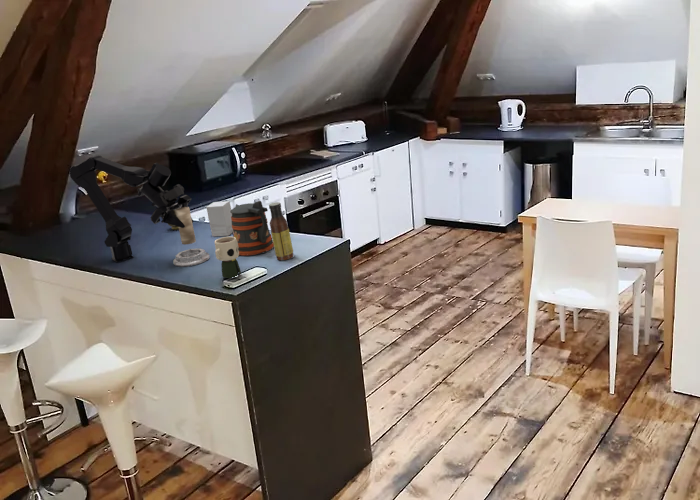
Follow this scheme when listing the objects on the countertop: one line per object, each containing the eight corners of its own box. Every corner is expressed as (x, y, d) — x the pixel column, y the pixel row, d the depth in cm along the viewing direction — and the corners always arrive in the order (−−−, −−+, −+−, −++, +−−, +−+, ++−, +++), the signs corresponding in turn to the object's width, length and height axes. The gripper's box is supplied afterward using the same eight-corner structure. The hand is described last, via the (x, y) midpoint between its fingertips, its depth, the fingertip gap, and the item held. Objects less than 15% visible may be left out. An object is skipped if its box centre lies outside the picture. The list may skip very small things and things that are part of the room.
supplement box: (235, 230, 281) (230, 200, 277) (228, 236, 274) (222, 205, 270) (219, 231, 283) (213, 201, 279) (211, 236, 276) (205, 206, 272)
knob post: (181, 245, 245) (175, 211, 241) (181, 241, 250) (175, 208, 246) (196, 242, 246) (189, 209, 242) (195, 239, 251) (189, 206, 247)
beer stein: (289, 248, 249) (281, 195, 243) (257, 261, 240) (247, 206, 234) (258, 241, 263) (249, 190, 256) (226, 253, 254) (217, 200, 247)
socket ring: (182, 269, 241) (180, 262, 241) (168, 261, 252) (166, 254, 251) (215, 258, 248) (214, 251, 247) (200, 251, 259) (199, 244, 258)
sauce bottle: (294, 254, 243) (286, 199, 237) (293, 259, 237) (285, 204, 231) (275, 256, 243) (267, 202, 237) (274, 262, 237) (265, 206, 231)
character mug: (230, 283, 222) (222, 245, 218) (213, 281, 226) (205, 244, 221) (250, 271, 231) (244, 235, 227) (234, 270, 234) (227, 233, 230)
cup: (163, 231, 293) (159, 213, 290) (175, 226, 299) (171, 208, 296) (177, 232, 289) (173, 214, 287) (188, 226, 295) (185, 208, 293)
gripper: (150, 186, 234) (183, 217, 233) (182, 173, 250) (213, 202, 250) (136, 208, 240) (169, 239, 239) (168, 194, 256) (198, 222, 255)
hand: (188, 224), depth 246 cm, fingers closed on knob post, 5 cm apart
